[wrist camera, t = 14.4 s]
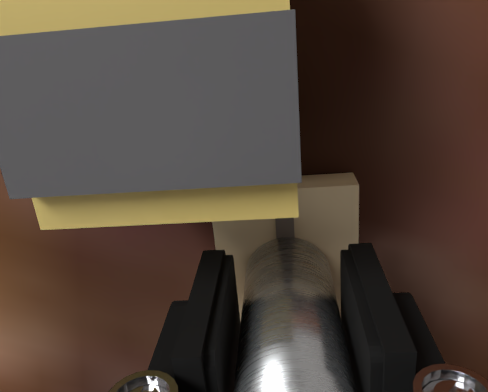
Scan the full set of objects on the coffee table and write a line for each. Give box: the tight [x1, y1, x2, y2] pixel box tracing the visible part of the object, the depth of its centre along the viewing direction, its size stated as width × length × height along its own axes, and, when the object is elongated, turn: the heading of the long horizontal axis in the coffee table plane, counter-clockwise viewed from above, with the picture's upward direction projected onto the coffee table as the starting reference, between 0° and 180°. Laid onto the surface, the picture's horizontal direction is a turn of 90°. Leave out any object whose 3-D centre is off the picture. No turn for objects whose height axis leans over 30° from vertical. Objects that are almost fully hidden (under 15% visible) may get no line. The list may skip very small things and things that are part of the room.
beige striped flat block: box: [212, 172, 359, 322], centre depth 13 cm, size 5×4×1 cm
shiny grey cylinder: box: [233, 237, 357, 392], centre depth 10 cm, size 2×2×6 cm
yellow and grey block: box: [0, 0, 302, 230], centre depth 9 cm, size 7×5×6 cm, turn 5°
